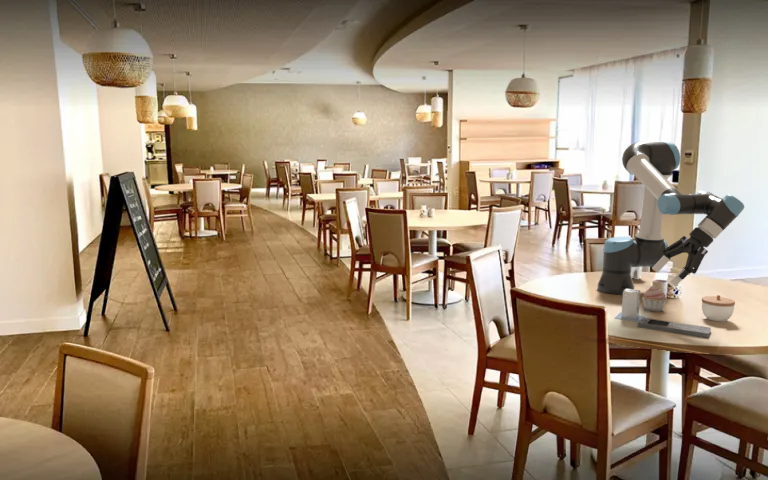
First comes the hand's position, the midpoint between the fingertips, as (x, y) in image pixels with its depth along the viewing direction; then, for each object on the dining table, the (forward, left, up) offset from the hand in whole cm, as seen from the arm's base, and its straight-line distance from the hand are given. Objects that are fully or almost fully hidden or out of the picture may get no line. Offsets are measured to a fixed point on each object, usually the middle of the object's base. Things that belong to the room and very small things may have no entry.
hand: (663, 277), depth 227 cm
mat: (-9, -5, -16) cm, 19 cm away
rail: (+7, -12, -16) cm, 21 cm away
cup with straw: (-22, +68, -16) cm, 73 cm away
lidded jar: (+18, +11, -16) cm, 26 cm away
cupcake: (-4, +13, -16) cm, 21 cm away
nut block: (-9, -5, -15) cm, 19 cm away
